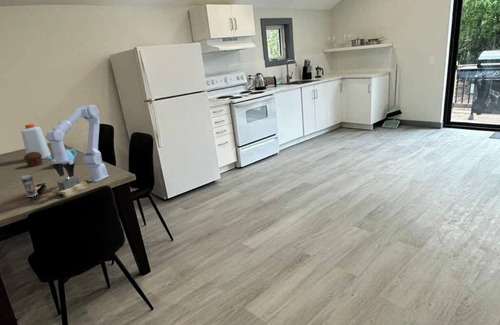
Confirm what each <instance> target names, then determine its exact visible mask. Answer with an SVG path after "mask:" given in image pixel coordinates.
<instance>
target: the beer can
mask: <svg viewBox="0 0 500 325" xmlns="http://www.w3.org/2000/svg"><path fill="white" fill-rule="evenodd" d="M20 179H21V182H22V185H23V187H24V188H23V189H24V190H25V193H26V196H27V198H29V197H32V198H35V197H37V196H38V191H37V188H36V185H35V182H34V178H33V176H32V175H31V174H26V175H22V176H21V178H20ZM36 195H37V196H36ZM34 196H35V197H34Z"/></svg>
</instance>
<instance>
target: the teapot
mask: <svg viewBox="0 0 500 325" xmlns="http://www.w3.org/2000/svg"><path fill="white" fill-rule="evenodd" d="M65 151H66V154H67V157H68V159H70V160H73V162H74V161H75V158H76V157H77V156H78V153H77V151H76V149H75V148H72V149H69V148H68V149H66V148H65ZM72 152H73V153H72ZM46 159H47V160H49V161H51V160H54V159H55V157H54V156H53V157H52V156H51V155H50V156H48V155H47V156H46ZM64 165H65V164H63V166H64Z"/></svg>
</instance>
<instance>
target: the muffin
mask: <svg viewBox="0 0 500 325" xmlns="http://www.w3.org/2000/svg"><path fill="white" fill-rule="evenodd" d="M41 156H42V155H41V154H40V153H39V152H30V153H27V154H25V155H24V157H23V159H24V161H25V163H26V165H27V166H28V167H29V168H33V167H38V166H41V165H42V164H43V159H42V157H41Z"/></svg>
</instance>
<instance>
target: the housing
mask: <svg viewBox="0 0 500 325" xmlns="http://www.w3.org/2000/svg"><path fill="white" fill-rule="evenodd" d="M80 182H82V180H80V179H79V176H72V177H69V176H67V177H64V179H61V180H60V181H57V182H56V183H57V185H58V188H59V189H58V191H62V190H66V189H68V188H71V187H73V186H75V185H77V184H80Z"/></svg>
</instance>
